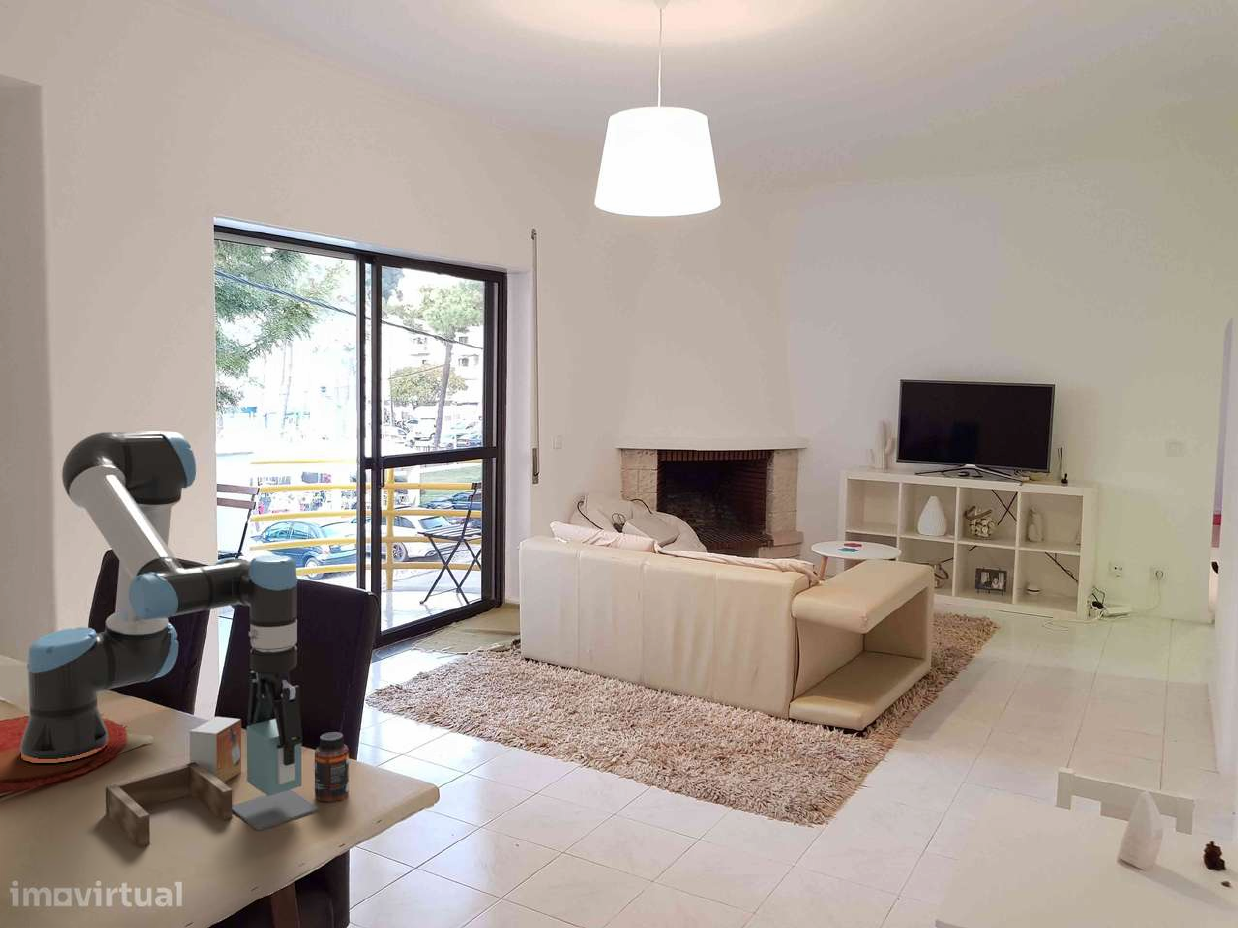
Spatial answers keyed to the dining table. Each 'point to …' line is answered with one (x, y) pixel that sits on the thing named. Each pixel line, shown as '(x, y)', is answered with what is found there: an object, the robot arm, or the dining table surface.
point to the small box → (217, 747)
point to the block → (268, 759)
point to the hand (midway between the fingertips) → (274, 773)
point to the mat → (273, 809)
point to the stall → (163, 797)
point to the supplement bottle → (331, 768)
